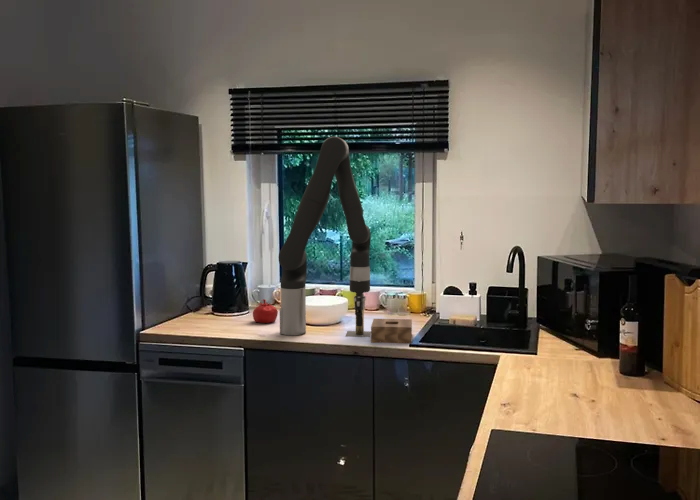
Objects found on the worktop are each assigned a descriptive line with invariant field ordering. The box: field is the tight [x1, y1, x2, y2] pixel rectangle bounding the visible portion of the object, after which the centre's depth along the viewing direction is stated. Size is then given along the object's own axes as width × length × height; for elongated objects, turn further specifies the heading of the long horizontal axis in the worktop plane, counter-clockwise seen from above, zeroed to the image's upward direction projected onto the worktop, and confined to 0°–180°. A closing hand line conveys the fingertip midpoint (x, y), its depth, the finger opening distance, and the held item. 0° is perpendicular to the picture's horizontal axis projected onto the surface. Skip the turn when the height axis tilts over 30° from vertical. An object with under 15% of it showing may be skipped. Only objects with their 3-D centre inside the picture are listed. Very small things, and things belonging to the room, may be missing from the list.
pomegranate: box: [252, 298, 279, 324], centre depth 270 cm, size 10×10×9 cm
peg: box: [355, 308, 365, 334], centre depth 246 cm, size 3×3×10 cm
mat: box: [344, 330, 371, 338], centre depth 246 cm, size 9×9×1 cm
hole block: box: [370, 318, 413, 344], centre depth 239 cm, size 14×14×6 cm
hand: (359, 324), depth 246 cm, fingers closed on peg, 3 cm apart
